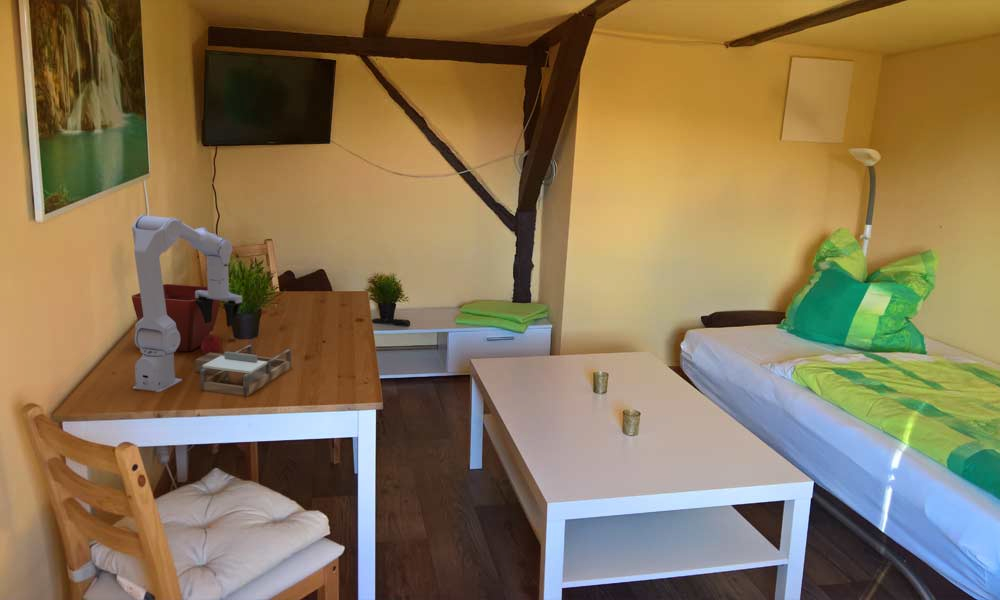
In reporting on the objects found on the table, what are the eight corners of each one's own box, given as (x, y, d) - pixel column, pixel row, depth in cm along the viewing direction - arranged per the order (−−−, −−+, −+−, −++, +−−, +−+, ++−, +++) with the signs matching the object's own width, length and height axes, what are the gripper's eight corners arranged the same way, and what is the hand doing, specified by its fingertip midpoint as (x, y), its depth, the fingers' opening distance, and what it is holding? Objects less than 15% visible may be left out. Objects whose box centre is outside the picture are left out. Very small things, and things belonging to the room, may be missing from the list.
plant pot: (167, 333, 236) (165, 282, 232) (224, 338, 234) (223, 287, 230) (132, 351, 217) (129, 296, 213) (194, 356, 216) (192, 301, 212)
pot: (240, 388, 192) (240, 370, 191) (225, 386, 193) (224, 368, 191) (249, 383, 196) (248, 365, 195) (234, 381, 197) (233, 363, 196)
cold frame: (247, 397, 187) (246, 376, 186) (200, 391, 189) (200, 370, 188) (291, 368, 210) (290, 349, 209) (249, 363, 212) (249, 344, 211)
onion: (218, 361, 213) (217, 335, 211) (198, 360, 213) (197, 333, 211) (225, 355, 218) (225, 329, 216) (206, 354, 218) (205, 328, 217)
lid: (250, 373, 187) (250, 364, 187) (202, 367, 189) (202, 358, 189) (267, 363, 195) (267, 355, 195) (220, 357, 198) (220, 349, 197)
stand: (218, 376, 201) (218, 362, 200) (195, 373, 202) (195, 359, 201) (232, 368, 207) (232, 355, 206) (210, 365, 209) (209, 352, 208)
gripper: (248, 278, 213) (249, 323, 217) (205, 273, 217) (207, 317, 220) (233, 283, 207) (234, 329, 210) (189, 277, 211) (191, 323, 214)
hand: (219, 324), depth 215 cm, fingers open, 7 cm apart
